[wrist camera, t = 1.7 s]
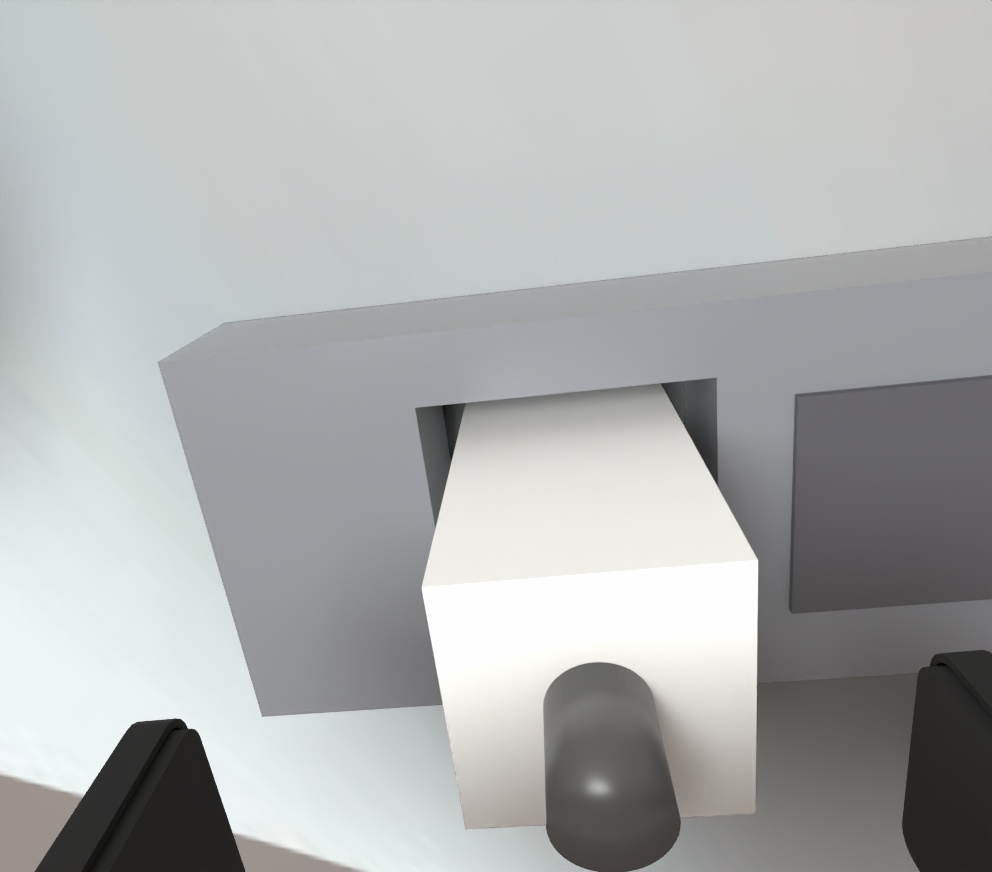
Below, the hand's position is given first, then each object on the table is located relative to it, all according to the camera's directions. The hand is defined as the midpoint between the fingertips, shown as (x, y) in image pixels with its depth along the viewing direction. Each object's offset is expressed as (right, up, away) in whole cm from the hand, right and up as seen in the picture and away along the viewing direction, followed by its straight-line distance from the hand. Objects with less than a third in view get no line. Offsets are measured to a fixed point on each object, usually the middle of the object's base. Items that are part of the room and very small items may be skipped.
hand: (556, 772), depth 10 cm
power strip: (+7, +4, +9) cm, 12 cm away
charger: (+1, +4, +9) cm, 10 cm away
